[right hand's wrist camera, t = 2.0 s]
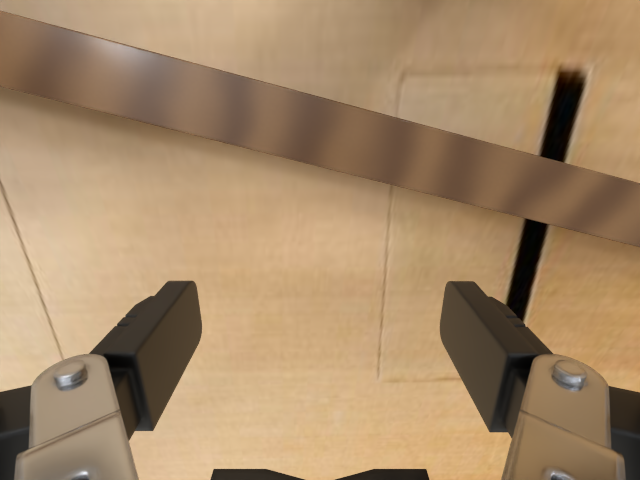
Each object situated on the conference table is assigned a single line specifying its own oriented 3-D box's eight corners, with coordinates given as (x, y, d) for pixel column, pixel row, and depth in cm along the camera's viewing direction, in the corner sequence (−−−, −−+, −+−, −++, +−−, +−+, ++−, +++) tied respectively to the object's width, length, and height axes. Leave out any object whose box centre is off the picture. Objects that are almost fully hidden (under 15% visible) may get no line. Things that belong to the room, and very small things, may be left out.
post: (733, 211, 33) (821, 232, 27) (704, 254, 35) (781, 282, 29) (-222, -46, 26) (-378, -92, 20) (-205, 24, 27) (-346, -1, 21)
